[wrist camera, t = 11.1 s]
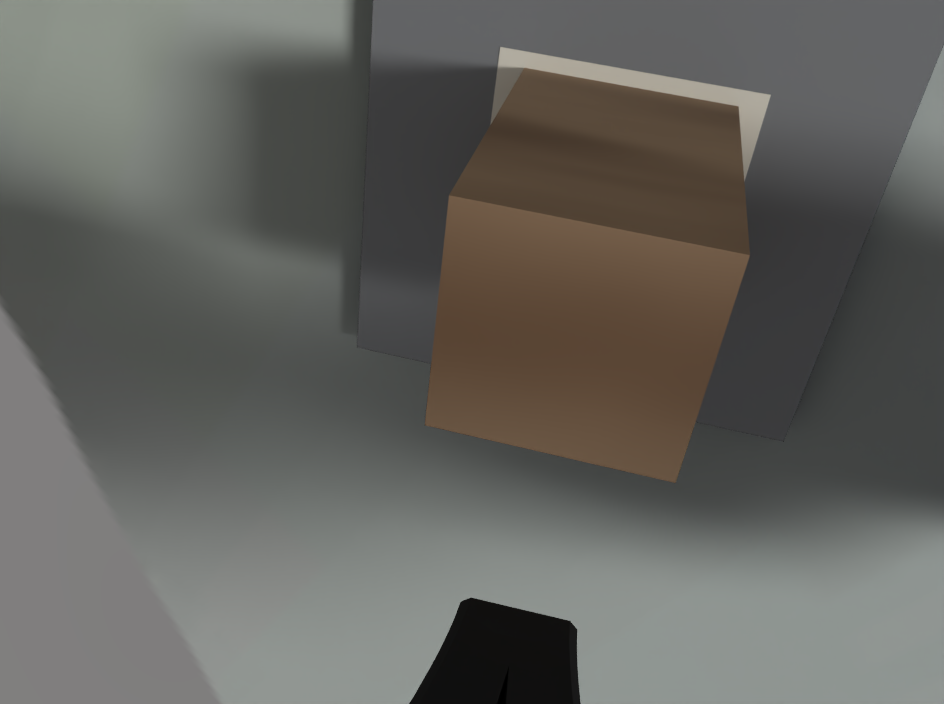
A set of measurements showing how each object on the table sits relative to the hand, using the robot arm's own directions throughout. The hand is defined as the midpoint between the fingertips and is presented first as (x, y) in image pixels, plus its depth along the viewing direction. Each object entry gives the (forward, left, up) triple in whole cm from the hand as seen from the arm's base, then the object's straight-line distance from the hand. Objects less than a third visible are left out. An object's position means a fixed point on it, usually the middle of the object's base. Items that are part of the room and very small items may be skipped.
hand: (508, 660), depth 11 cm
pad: (0, -2, -10) cm, 11 cm away
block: (0, -2, -10) cm, 10 cm away
